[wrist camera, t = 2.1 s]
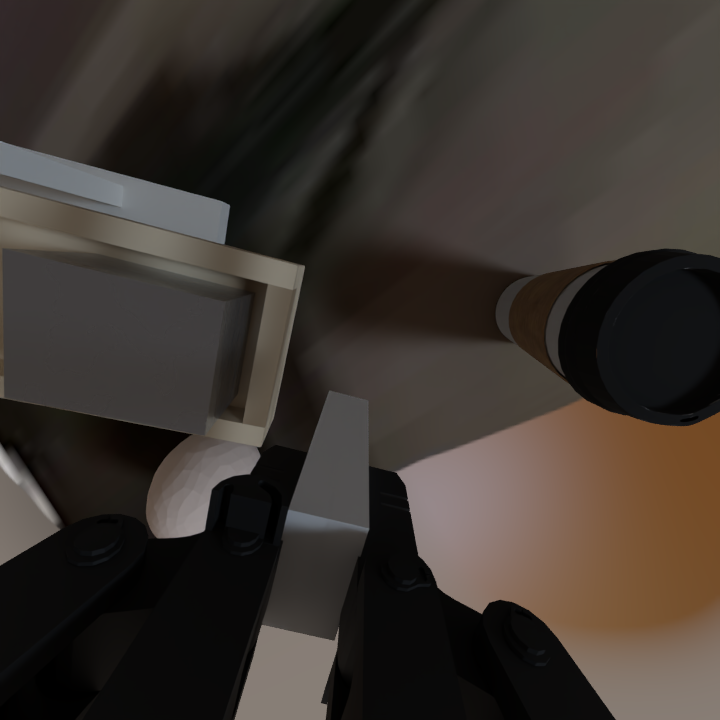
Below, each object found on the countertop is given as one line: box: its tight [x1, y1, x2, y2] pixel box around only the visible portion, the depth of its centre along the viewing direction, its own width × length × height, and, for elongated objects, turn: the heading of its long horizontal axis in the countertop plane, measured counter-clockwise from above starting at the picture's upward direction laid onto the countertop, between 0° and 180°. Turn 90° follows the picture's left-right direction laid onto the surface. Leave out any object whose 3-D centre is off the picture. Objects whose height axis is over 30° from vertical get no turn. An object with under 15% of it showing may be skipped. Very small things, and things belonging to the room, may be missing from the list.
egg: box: [146, 435, 260, 538], centre depth 28 cm, size 8×8×11 cm
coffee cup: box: [496, 249, 720, 426], centre depth 22 cm, size 8×8×15 cm
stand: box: [0, 141, 230, 244], centre depth 23 cm, size 18×16×14 cm
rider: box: [2, 248, 255, 436], centre depth 16 cm, size 8×6×5 cm
